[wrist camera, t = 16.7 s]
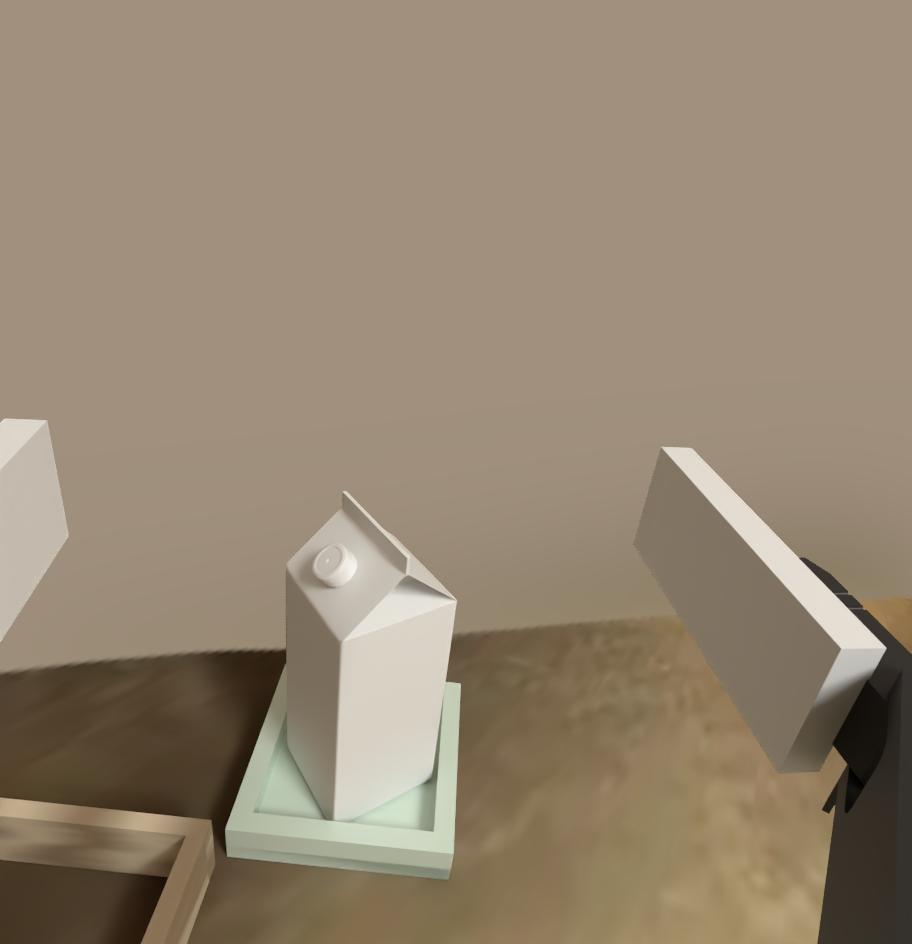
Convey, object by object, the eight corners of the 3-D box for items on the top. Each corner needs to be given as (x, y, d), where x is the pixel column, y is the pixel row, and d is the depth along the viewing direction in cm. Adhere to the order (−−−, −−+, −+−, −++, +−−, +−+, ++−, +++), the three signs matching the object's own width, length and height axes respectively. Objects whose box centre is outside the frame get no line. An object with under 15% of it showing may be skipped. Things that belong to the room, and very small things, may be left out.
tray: (227, 856, 39) (224, 829, 38) (285, 688, 51) (285, 664, 49) (448, 880, 39) (453, 853, 38) (456, 707, 51) (460, 683, 50)
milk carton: (379, 706, 49) (398, 478, 40) (432, 781, 44) (467, 540, 35) (286, 746, 45) (283, 504, 36) (332, 833, 40) (343, 577, 31)
